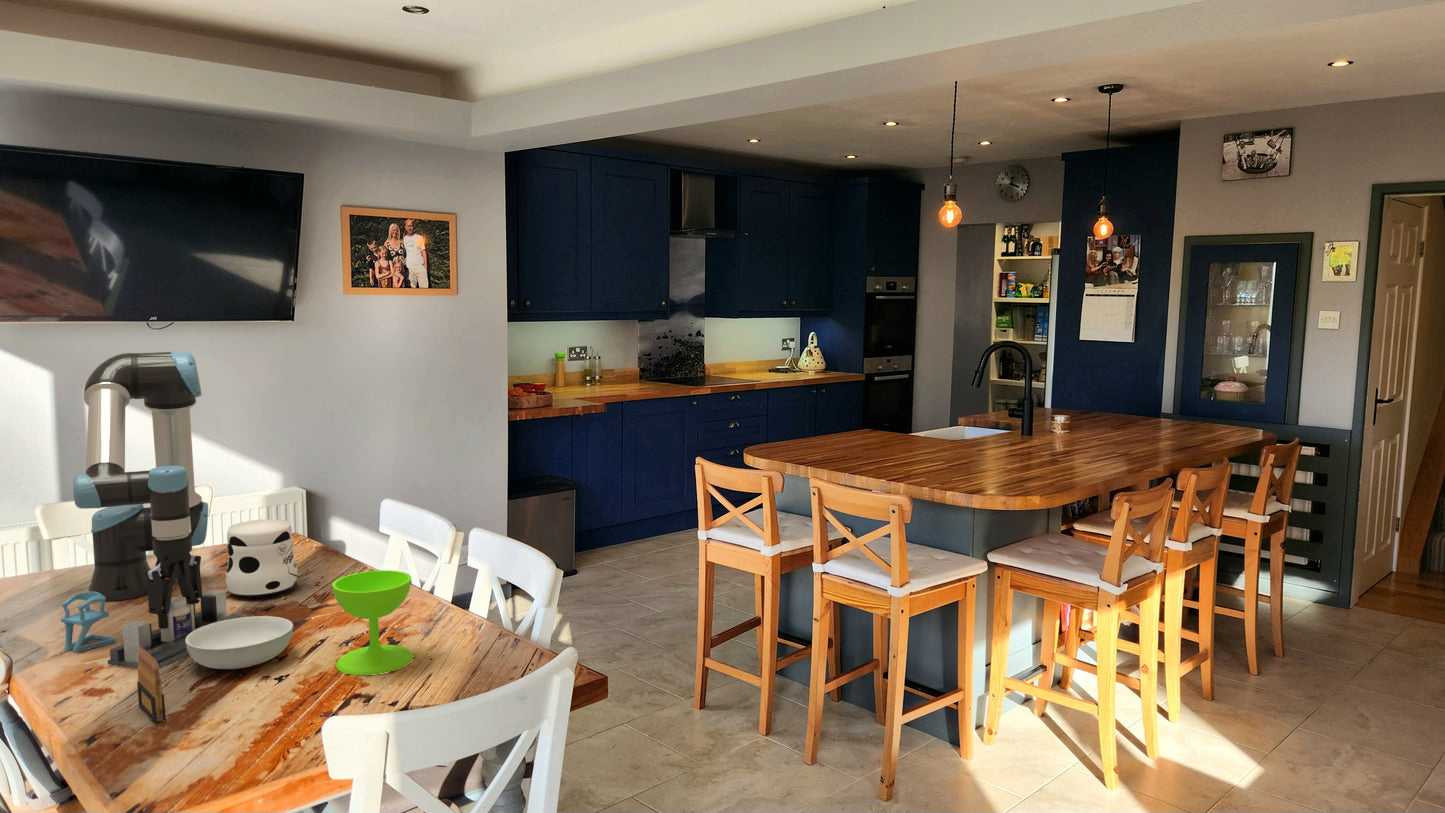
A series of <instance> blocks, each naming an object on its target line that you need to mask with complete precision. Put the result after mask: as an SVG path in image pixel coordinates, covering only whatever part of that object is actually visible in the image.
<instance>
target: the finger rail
mask: <svg viewBox="0 0 1445 813" xmlns="http://www.w3.org/2000/svg"><path fill="white" fill-rule="evenodd" d="M199 600H200V611H198V612H195V613H196V614H195V616H194V622H195V630H196V629H198V628H200V627H203V626H206V625H209V624H212V623H216V622H220V621H224V620H229V619H235V618H241V614H240V613H233V612H232V613H231V614H228V612H227V597H226V591H225V590H217V589H210V590H209V589H208V590H207V591H205V592H204V591H203V592H202V597H201V598H199ZM227 614H228V615H227ZM121 628H122V639H123V641H122V642H123V643H122V644H120V645H117V646H115V647H112V648H110V649H109V658H110V659H108V660H107V665H108V664H111V665H110V666H112V665H117V666H116V667H121V666H124V668H129V667H133V668H132V669H137V668H138V654H139V649H140V647H142V648H143V649H145V651H147V652H148V654H150V655H151V657H153V658H154V659H156V661H157V663H158V666H159V669H161V668H163V667H165V666H167V665H169V664H172V663H174V662H175V660H176V661H178V660H180V659H182V658H184V657H186V656H188V654H189V653H188V650H187V647H186V643H185V639H186V637H187V636H188V635H189V634H190V633H191V632H190V633H187V634H185V635H183V636H181V637H178V638H176V639H174V640H172V641H169V642H163V641H161V628H158V629H155V630H153V631H152V629H153V628H152V623H150V621H141V620H140V621H139V620H133V621H129V622H127V623H125V624H122V627H121ZM192 632H193V631H192ZM189 655H190V654H189ZM179 658H180V659H179ZM177 659H178V660H177ZM173 661H174V662H173ZM171 662H172V663H171ZM162 666H163V667H162ZM160 667H161V668H160Z"/></svg>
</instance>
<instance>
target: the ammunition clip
mask: <svg viewBox="0 0 1445 813" xmlns="http://www.w3.org/2000/svg"><path fill="white" fill-rule="evenodd" d="M137 678H138V681H136V682H137V697H138V698H137V699H138V707H139V708H140V710H142V711H144V712H145V713H146V714H147V715H148V716H149V717H148V716H147V715H146V714H145V713H144V714H145V715H146V716H147V717H148V718H149V719H150V718H151V719H152V720H151V719H150V720H151V721H152V723H153V724H155V723H156V724H158V723H157V722H159V723H161V722H160V721H163V720H166V721H167V717H166V708H165V694H164V693H163V686H162V678H161V674H160V668H159V666H158V663H157V661H156V659H154V658H153V657H151V655H150V654H148V652H147V651H145V649H143V648H142V647H140V649H139V654H138V669H137ZM163 722H164V721H163Z"/></svg>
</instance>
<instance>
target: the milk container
mask: <svg viewBox="0 0 1445 813" xmlns="http://www.w3.org/2000/svg"><path fill="white" fill-rule="evenodd" d="M292 532H293V528H292V524H291V521H288V520H287V519H286V520H285V519H281V518H280V519H279V518H277V519H275V518H267V519H255V520H249V521H248V520H247V521H243V522H239V523H235V524H232V525H230V526H229V527H228V528H227V532H226V533H227V534H226V541H227V545H226V546H227V556H228V557H227V560H228V561H227V566H226V571H225V575H224V576H225V577H224V578H225V584H226V588H227V591H228V592H229V593H230V594H232V595H234V596H237V597H242V598H262V597H268V596H269V597H271V596H274V595H277V594H281V593H284V592H287V591H289V590H290V589H292V588H293V587H294V586H295V585H296V583H297V581H298V576H299V575H298V574H299V573H298V572H299V571H298V565H297V562H296V559H295V556H294V548H293V546H294V545H293V543H294V542H293V536H292V534H293V533H292Z"/></svg>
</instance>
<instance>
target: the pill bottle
mask: <svg viewBox="0 0 1445 813" xmlns="http://www.w3.org/2000/svg"><path fill="white" fill-rule="evenodd" d="M186 603H187V602H186V598H185V597H182V596H175V597H174V596H173V597H171V603H170V609H169V613H172V614H173V629H174V639H176V638H178V637H181V636H183V635H185V634H187V633H190V632H191V619H190V609H189V607H187V606H185V605H186Z"/></svg>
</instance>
